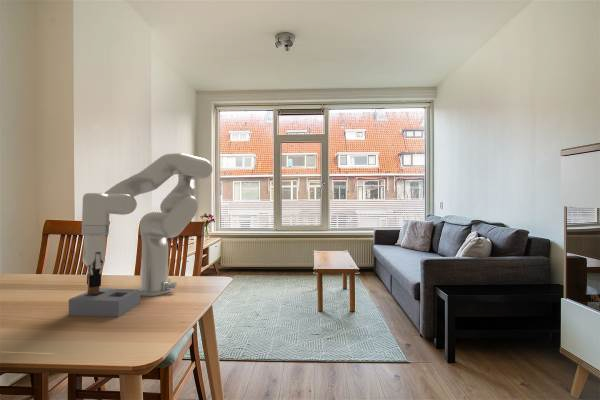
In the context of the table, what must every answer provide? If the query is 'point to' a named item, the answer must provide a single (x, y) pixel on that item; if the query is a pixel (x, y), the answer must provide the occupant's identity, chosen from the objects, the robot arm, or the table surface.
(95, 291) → the dowel
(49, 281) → the table surface
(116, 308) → the bore block
